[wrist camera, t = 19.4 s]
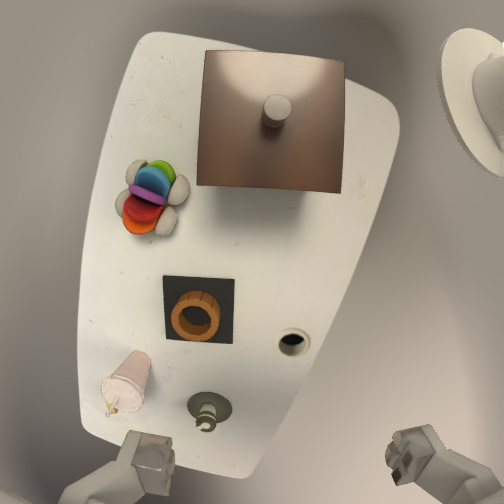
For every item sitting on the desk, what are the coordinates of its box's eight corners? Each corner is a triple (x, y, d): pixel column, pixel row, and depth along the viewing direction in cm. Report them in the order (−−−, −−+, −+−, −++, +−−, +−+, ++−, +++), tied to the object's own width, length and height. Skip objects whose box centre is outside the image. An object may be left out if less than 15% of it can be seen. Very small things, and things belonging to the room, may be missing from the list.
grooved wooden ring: (220, 292, 42) (218, 300, 39) (220, 332, 44) (218, 343, 41) (175, 289, 42) (170, 297, 39) (176, 329, 43) (172, 339, 41)
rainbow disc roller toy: (117, 216, 40) (94, 225, 33) (142, 151, 38) (122, 147, 31) (170, 241, 41) (155, 254, 34) (198, 174, 39) (187, 174, 32)
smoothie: (121, 340, 45) (85, 392, 31) (159, 347, 45) (132, 405, 31) (123, 371, 46) (93, 425, 33) (158, 379, 46) (136, 437, 33)
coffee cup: (256, 413, 48) (257, 433, 44) (204, 436, 50) (201, 455, 45) (213, 370, 46) (210, 389, 41) (160, 398, 47) (153, 416, 43)
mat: (234, 279, 42) (234, 280, 42) (232, 342, 45) (232, 344, 44) (163, 275, 42) (162, 276, 41) (167, 337, 44) (166, 339, 44)
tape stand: (311, 99, 36) (357, 47, 19) (307, 186, 39) (354, 196, 21) (220, 93, 36) (199, 33, 18) (215, 181, 39) (188, 186, 21)
